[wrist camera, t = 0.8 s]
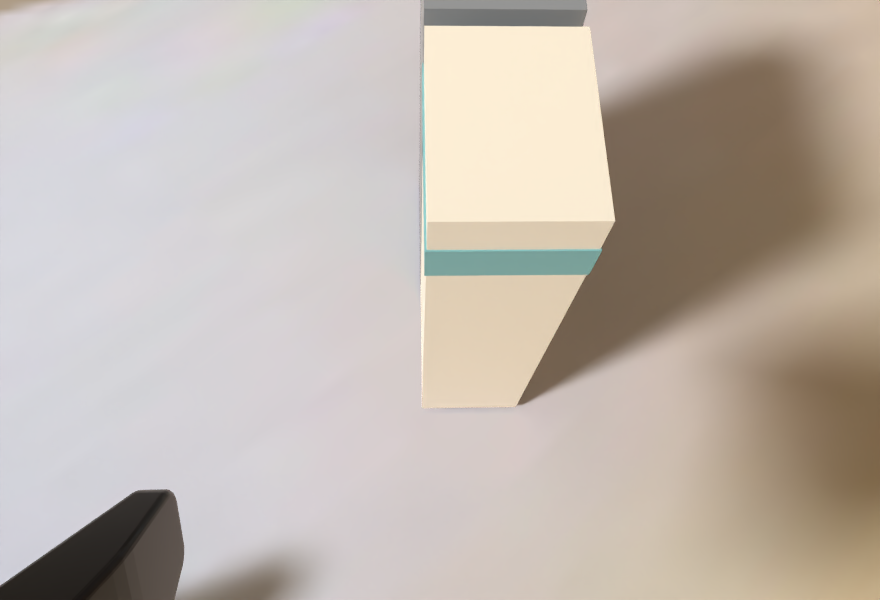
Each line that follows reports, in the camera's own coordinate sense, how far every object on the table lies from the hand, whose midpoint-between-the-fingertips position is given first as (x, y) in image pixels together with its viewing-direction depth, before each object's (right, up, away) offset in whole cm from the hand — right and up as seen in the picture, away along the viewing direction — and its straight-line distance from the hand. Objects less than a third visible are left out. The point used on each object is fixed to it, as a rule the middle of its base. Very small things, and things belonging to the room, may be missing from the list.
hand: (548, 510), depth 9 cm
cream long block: (0, +1, +15) cm, 15 cm away
